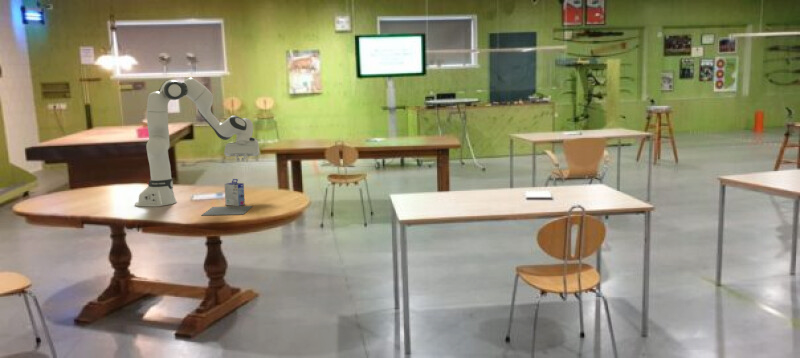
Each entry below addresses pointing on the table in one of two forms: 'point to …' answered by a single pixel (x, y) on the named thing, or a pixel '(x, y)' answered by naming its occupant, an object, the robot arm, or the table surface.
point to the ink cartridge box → (234, 193)
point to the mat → (227, 210)
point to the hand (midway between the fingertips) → (240, 161)
